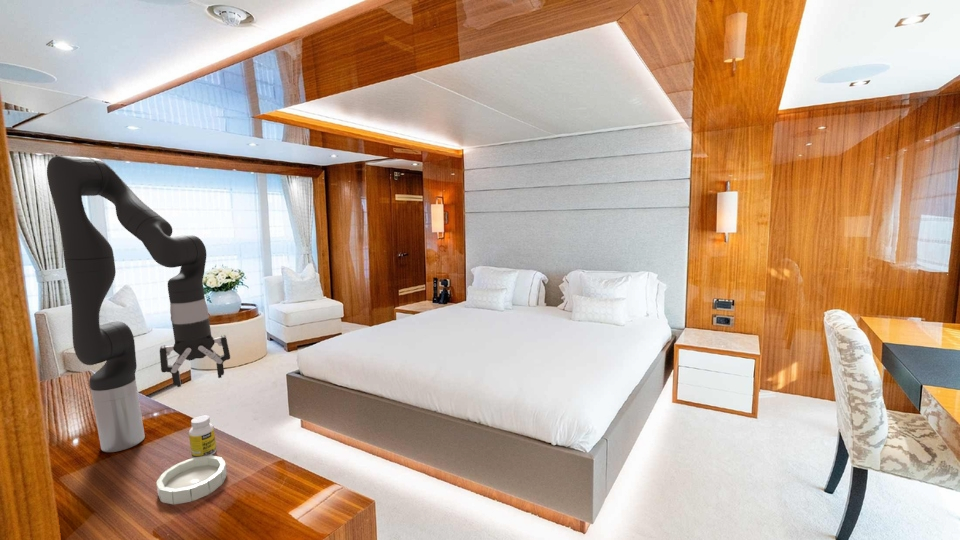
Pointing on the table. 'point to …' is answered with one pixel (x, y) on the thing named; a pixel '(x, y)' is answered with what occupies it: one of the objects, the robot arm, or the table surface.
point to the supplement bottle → (202, 437)
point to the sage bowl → (191, 479)
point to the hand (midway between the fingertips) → (199, 381)
